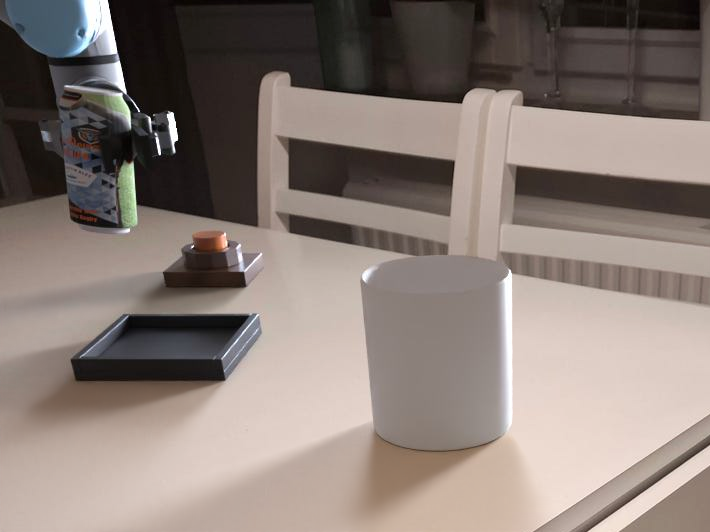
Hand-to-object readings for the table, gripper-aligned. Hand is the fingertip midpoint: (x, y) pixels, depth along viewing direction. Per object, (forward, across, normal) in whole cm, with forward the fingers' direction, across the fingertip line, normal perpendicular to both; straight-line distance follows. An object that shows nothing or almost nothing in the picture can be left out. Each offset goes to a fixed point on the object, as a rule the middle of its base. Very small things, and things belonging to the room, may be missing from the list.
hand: (127, 154), depth 89 cm
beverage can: (-5, +2, -7) cm, 9 cm away
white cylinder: (+28, -19, -18) cm, 38 cm away
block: (-30, -10, -18) cm, 36 cm away
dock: (-1, 0, -18) cm, 18 cm away
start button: (-30, -10, -15) cm, 35 cm away
